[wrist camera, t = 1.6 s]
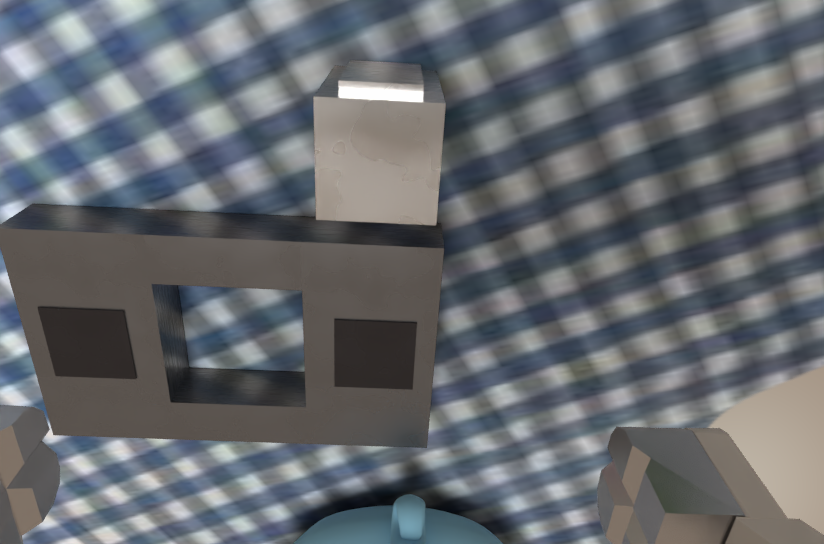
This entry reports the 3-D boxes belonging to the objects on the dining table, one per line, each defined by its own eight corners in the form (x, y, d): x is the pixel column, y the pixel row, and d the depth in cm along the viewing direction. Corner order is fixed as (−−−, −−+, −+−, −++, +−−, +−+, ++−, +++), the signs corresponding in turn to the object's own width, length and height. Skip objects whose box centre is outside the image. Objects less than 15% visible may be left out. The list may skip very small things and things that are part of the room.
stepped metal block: (437, 61, 27) (446, 91, 20) (428, 176, 29) (435, 235, 23) (334, 55, 26) (313, 84, 20) (335, 172, 29) (316, 229, 23)
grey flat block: (440, 223, 30) (444, 249, 27) (425, 411, 36) (426, 449, 33) (32, 203, 29) (-7, 228, 27) (80, 398, 35) (52, 436, 32)
